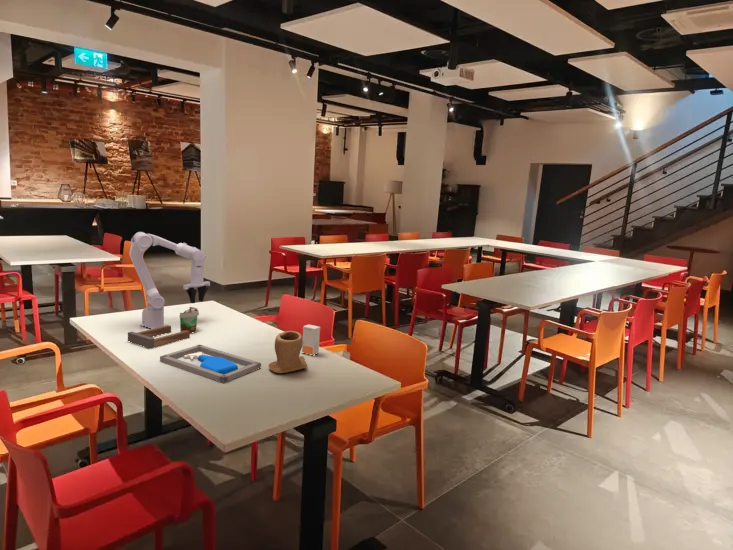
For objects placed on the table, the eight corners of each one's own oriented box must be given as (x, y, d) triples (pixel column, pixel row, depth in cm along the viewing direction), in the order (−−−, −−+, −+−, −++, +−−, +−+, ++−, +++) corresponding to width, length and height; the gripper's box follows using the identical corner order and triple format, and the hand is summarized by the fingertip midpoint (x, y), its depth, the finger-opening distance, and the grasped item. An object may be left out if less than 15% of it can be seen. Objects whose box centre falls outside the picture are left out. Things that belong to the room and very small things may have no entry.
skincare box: (301, 353, 204) (302, 326, 202) (307, 351, 208) (308, 323, 206) (313, 356, 202) (314, 328, 199) (318, 354, 205) (320, 326, 203)
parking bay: (132, 340, 205) (132, 333, 204) (168, 331, 220) (168, 325, 220) (154, 347, 198) (154, 340, 198) (189, 337, 214) (189, 331, 213)
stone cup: (278, 378, 176) (280, 338, 173) (264, 368, 185) (266, 330, 183) (315, 372, 185) (317, 334, 182) (299, 362, 194) (301, 325, 192)
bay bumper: (127, 341, 203) (127, 332, 202) (132, 340, 205) (132, 331, 204) (149, 348, 196) (149, 339, 196) (154, 347, 198) (154, 338, 198)
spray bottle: (240, 364, 180) (205, 348, 196) (214, 371, 172) (179, 353, 188) (240, 372, 180) (205, 355, 196) (214, 379, 172) (179, 360, 188)
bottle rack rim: (160, 361, 184) (160, 356, 184) (199, 349, 200) (199, 344, 200) (223, 383, 168) (223, 377, 168) (260, 368, 185) (261, 363, 184)
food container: (193, 335, 217) (193, 314, 215) (179, 334, 217) (179, 313, 215) (202, 328, 229) (203, 307, 228) (189, 327, 229) (189, 306, 228)
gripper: (190, 277, 225) (190, 305, 227) (214, 273, 237) (214, 301, 240) (180, 275, 228) (180, 303, 230) (204, 271, 241) (204, 298, 243)
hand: (196, 302), depth 235 cm, fingers open, 4 cm apart
